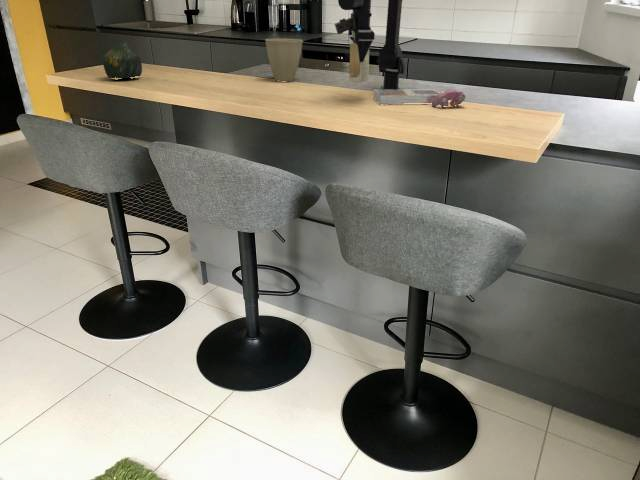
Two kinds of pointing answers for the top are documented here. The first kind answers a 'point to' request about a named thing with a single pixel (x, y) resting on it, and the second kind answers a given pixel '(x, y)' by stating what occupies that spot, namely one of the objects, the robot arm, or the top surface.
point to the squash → (122, 62)
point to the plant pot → (284, 57)
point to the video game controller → (449, 98)
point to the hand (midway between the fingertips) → (359, 60)
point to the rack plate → (405, 95)
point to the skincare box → (358, 65)
